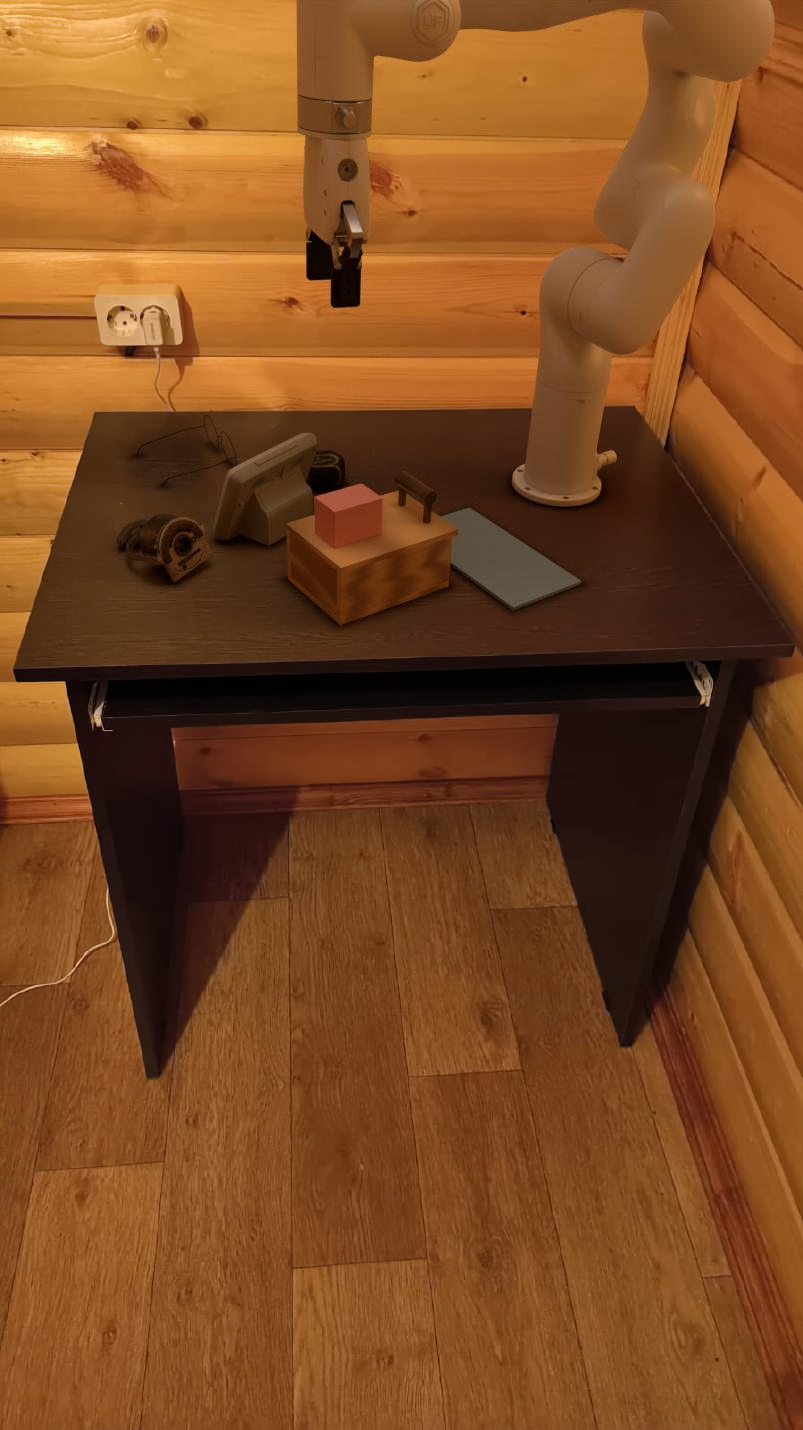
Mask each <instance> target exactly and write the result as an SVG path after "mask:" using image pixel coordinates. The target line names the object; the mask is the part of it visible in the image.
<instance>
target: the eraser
mask: <svg viewBox="0 0 803 1430" xmlns="http://www.w3.org/2000/svg"><path fill="white" fill-rule="evenodd" d="M380 496H381V495H379V494H378V493H376V492H375V491H373V490H372V489H371V488H369V487H368V486H367V485H366V484H363V482H362V483H358V484H354V485H350V486H348V487H343V488H341V489H336V490H333V491H330V492H329V491H328V492H327V493H323V494H320V495H316V496H313V504H314V515H315V534H317V535H318V536H319V537H320V538H322V539H323V540H324V541H325V542H327V543H328V544H329V545H330V546H332V547H333V548H334V549H336V548H339V547H342V546H345V545H348V544H352V543H355V542H358V541H361V540H364V539H367V538H371V537H374V536H377V535H380V534H381V529H382V500H383V498H382V497H380Z"/></svg>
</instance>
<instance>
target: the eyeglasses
mask: <svg viewBox="0 0 803 1430" xmlns="http://www.w3.org/2000/svg"><path fill="white" fill-rule="evenodd" d="M206 417H208V419H209V420H210V422H211V424H212V426H213V428H214V431H215V434H216V438H217V439H216V440H215V441H216V442H217V443H218V446H217V448H216V447H215V446H214V445H213V442H212V441H211V439H210V437H209V435H208V432H207V431H208V430H207V428H206V423H205V420H203V424H202V425H200V426H195V427H191V428H186V429H183V430H179V431H176V432H173V433H171V434H168V435H165V436H162V437H160V438H157V439H154V440H152V441H149V442H146V443H143V444H141V445H140V446H139V448H138V450H137V452H136V454H135V456H136V457H139V454H140V451H141V449H142V447H144V446H146V445H149V444H151V443H154V442H156V441H158V440H162V439H164V438H166V437H170V436H172V435H175V434H178V433H182V432H186V431H189V430H193V429H199V428H202V427H204V430H205V433H206V436H207V438H208V440H209V442H210V444H211V446H212V447H213V449H214V450H217V449H219V448H220V444H221V447H222V450H223V454H224V456H225V458H226V460H224V461H222V462H219V463H217V464H214V465H212V466H208V467H205V468H200V469H196V470H193V471H190V472H189V471H188V472H186V473H185V472H184V473H182V474H177V475H173V476H170V477H167V478H166V479H165V481H164V482H163V483H162V484H161V486H162V487H164V486H165V485H166V484H167V482H168V481H169V479H173V478H177V477H181V476H184V475H190V474H193V473H196V472H199V471H203V470H207V469H210V468H213V467H216V466H219V465H221V464H224V463H225V462H228V463H229V464H230V466H231V467H232V468H233V467H235V466H237V463H235V464H234V465H233V464H232V463H231V462H230V460H232V459H234V460H237V455H236V451H235V448H234V445H233V443H232V440H231V439H230V437H229V435H228V434H227V433H226V432H225V431H222V430H221V432H220V435H218V432H217V429H216V427H215V425H214V424H215V423H214V422H213V420H212V418H211V417H209V415H207V414H205V415H204V416H203V419H205V418H206ZM223 433H224V434H225V435H226V437H227V438H228V440H229V442H230V445H231V447H232V449H233V450H232V451H233V454H234V456H233V457H230V458H228V457H227V454H226V452H225V449H224V445H223V437H222V436H221V435H222V434H223ZM219 438H220V440H219Z"/></svg>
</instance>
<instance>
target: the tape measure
mask: <svg viewBox="0 0 803 1430" xmlns="http://www.w3.org/2000/svg"><path fill="white" fill-rule="evenodd" d="M345 477H346V462H345V458H344V457H343V456H342V455H341V454H339V453H337V452H336V451H334V450H331V449H325V450H324V449H323V450H316V453H315V456H314V459H313V462H312V465H311V468H310V471H309V474H308V477H307V480H306V483H307V485H308V486H309V487H310V488H314V489H328V488H333V487H337V486H339V485H341V483H343V482H344V480H345V479H346V478H345Z"/></svg>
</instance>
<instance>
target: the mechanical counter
mask: <svg viewBox="0 0 803 1430" xmlns="http://www.w3.org/2000/svg"><path fill="white" fill-rule="evenodd" d="M205 534H206V526H205V525H204V524H203V523H202V522H200V521H199V522H198V521H196V520H194V519H192V518H189V517H187V516H179V515H174V514H170V513H160V514H159V513H158V514H155V515H154V516H152V517H151V518H150V519H143V518H142V519H136V520H134V521H130V522H129V523H127V524H126V525H125V526H124V527H123V528H122V530H120V533H119V534H118V536H117V538H116V544H117V547H121V548H123V549H125V552H126V554H127V556H128V557H129V558H130V559H132V560H134V561H136V562H137V561H138V562H142V563H145V564H149V565H153V566H156V567H161V568H165V570H166V572H167V574H168V575H169V578H170V579H171V581H172V582H173V583H177V582H178V581H180V580H181V579H182V578H183V577H185V576H186V575H187V574H189V573H190V572H192V571H193V570H194V569H195V568H196V567H198V566H200V565H201V564H202V563H203V562H205V561H207V559H208V558H210V557H211V556H212V555H213V552H212V550H211V548H210V545H209V543H208V541H207V539H206V537H205ZM137 545H140V551H141V553H139V552H135V551H133V549H134V548H135V546H137Z"/></svg>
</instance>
